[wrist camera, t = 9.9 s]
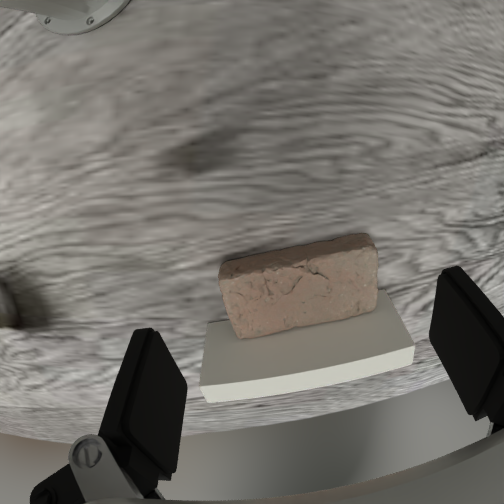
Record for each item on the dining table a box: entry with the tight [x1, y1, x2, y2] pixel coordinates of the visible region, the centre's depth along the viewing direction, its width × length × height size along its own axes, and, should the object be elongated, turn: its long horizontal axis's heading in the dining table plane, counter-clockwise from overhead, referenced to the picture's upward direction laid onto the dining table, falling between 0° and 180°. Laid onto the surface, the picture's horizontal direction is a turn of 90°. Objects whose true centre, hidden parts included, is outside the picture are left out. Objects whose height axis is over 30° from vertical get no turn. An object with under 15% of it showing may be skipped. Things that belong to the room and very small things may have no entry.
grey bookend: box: [199, 289, 415, 403], centre depth 35 cm, size 8×22×10 cm, turn 102°
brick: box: [218, 233, 378, 339], centre depth 34 cm, size 17×8×5 cm, turn 103°
